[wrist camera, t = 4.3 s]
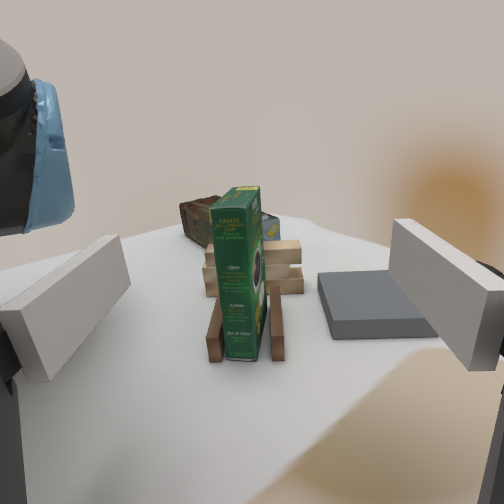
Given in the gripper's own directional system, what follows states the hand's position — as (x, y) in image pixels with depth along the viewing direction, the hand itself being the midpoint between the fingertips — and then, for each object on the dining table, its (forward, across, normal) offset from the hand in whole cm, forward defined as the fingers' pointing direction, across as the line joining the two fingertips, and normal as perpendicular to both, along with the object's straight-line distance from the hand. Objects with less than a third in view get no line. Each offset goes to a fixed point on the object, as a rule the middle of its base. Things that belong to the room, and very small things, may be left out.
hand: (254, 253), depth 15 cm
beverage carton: (+33, -6, -12) cm, 36 cm away
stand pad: (+13, +10, -12) cm, 21 cm away
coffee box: (+10, -2, -12) cm, 16 cm away
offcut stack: (+18, -1, -12) cm, 22 cm away
